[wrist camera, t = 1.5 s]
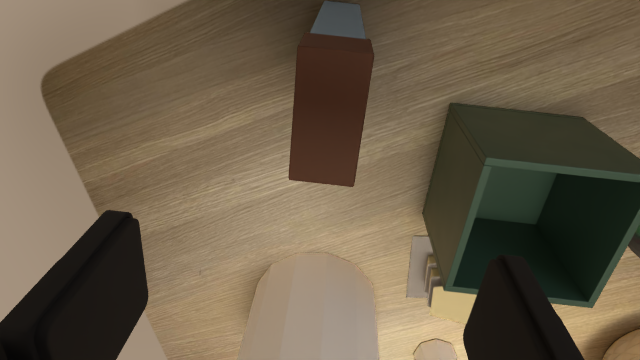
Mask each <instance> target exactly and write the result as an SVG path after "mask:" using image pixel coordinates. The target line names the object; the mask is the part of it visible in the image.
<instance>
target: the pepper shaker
mask: <svg viewBox="0 0 640 360" xmlns="http://www.w3.org/2000/svg"><path fill="white" fill-rule="evenodd" d="M414 358H415V360H457V355H456V353H455V351H454V348H453V346H452V344H451V343H448V342H444V341H441V340H438V339H434V340H431V341H427V342H423V343H421V344H420V345H419V347H418V348H417V350H416V351H415V352H414Z"/></svg>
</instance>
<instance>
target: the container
mask: <svg viewBox="0 0 640 360" xmlns="http://www.w3.org/2000/svg"><path fill="white" fill-rule="evenodd" d="M237 360H380V359H379V345H378V332H377V318H376V305H375V298H374V291H373V284H372V282H371V281H370V280H369V279H368V278H367V277H366V276H365V275H364V273H363V272H362V271H361V270H360V269H359V268H358V267H357V266H356V264H354V263H351V262H349V261H346V260H344V259H341V258H339V257H336V256H334V255H332V254H329V253H296V254H294V255H291V256H289V257H287V258H284V259H282V260H280V261H277V262H275V263H273V264H271V266H270V267H269V268H268V270H267V271H266V272H265V274H264V275H263V276H262V278H261V279H260V281H259V282H258V284H257V288H256V291H255V295H254V299H253V302H252V306H251V310H250V313H249V317H248V321H247V325H246V328H245V332H244V336H243V339H242V343H241V347H240V350H239V354H238V358H237Z"/></svg>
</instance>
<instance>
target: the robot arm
mask: <svg viewBox="0 0 640 360" xmlns="http://www.w3.org/2000/svg"><path fill="white" fill-rule="evenodd" d="M147 301H148V288H147V280H146V273H145V265H144V257H143V250H142V242H141V234H140V227H139V221H138V220H137V219H134V218H133V216H132V214H131V213H129V212H121V211H112V210H107V211H105V212H104V213H103V214H102V215H101V216H100V217H99V218H98V220H97V221H96V222H95V223H94V224H93V225H92V226H91V227H90V228H89V229H88V230H87V231H86V233H84V235H83V236H82V237H81V238H80V239H79V240H78V241H77V242H76V243H75V244H74V245H73V246H72V248H70V250H69V251H68V252H67V253H66V254H65V255H64V256H63V257H62V258H61V259H60V260H59V261H57V263H55V265H54V266H53V267H52V268H51V269H50V270H49V271H48V272H47V273H46V274H45V275H44V276H43V277H42V278H41V279H40V281H39V282H38V283H37V284H36V285H35V286H34V287H33V288H32V289H31V290H30V291H29V292H28V293H27V295H25V297H24V298H23V299H22V300H21V301H20V302H19V303H18V304H17V305H16V306H15V307H14V308H13V310H11V312H10V313H9V314H8V315H7V316H6V317H5V318H4V319H3V320H2V321H1V322H0V360H116V359H117V357H118V355H119V353H120V352H121V350H122V348H123V346H124V345H125V343H126V341H127V339H128V338H129V336H130V334H131V332H132V331H133V329H134V327H135V325H136V323H137V322H138V320H139V318H140V316H141V315H142V313H143V311H144V309H145V307H146V305H147ZM463 341H464V346H465V349H466V353H467V356H468V360H584V358H583V357H582V355H581V353H580V352H579V350H578V348H577V346H576V345H575V343H574V341H573V339H572V338H571V336H570V334H569V332H568V331H567V329H566V327H565V326H564V324H563V322H562V320H561V319H560V317H559V316H558V315H557V314H556V312H555V310H554V309H553V307H552V305H551V304H550V302H549V300H548V298H547V297H546V295H545V293H544V291H543V290H542V288H541V286H540V284H539V283H538V281H537V279H536V277H535V276H534V274H533V272H532V270H531V269H530V267H529V265H528V263H527V262H526V260H525V259H524V258H523V257H520V256H511V255H502V254H501V255H498V256H497V258H496V259H491V260H490V261H489V263H488V266H487V269H486V272H485V274H484V277H483V280H482V283H481V285H480V288H479V291H478V293H477V296H476V299H475V302H474V304H473V307H472V310H471V313H470V315H469V318H468V321H467V323H466V326H465V329H464V334H463Z"/></svg>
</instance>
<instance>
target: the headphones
mask: <svg viewBox="0 0 640 360" xmlns="http://www.w3.org/2000/svg"><path fill="white" fill-rule="evenodd" d="M628 246H629V248H630V249H631V250H632V251H633V252H634V253H635V254H636V255H637V256H638V257H639V258H640V225H639V226H638V228H637V230H636V232H635V233H634V235H633V237H632V239H631V241H630V242H629V244H628Z"/></svg>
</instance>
